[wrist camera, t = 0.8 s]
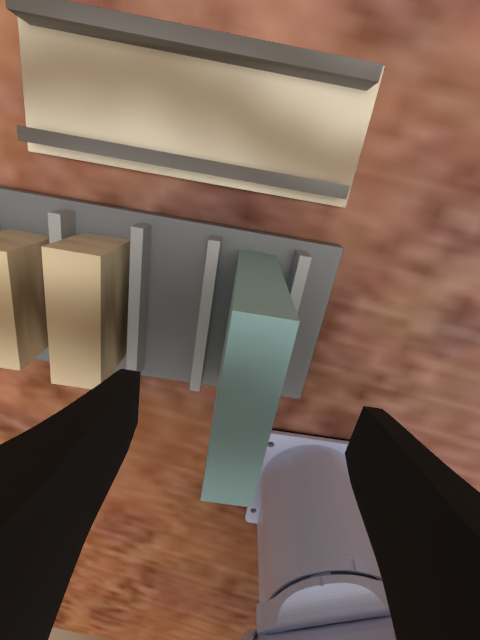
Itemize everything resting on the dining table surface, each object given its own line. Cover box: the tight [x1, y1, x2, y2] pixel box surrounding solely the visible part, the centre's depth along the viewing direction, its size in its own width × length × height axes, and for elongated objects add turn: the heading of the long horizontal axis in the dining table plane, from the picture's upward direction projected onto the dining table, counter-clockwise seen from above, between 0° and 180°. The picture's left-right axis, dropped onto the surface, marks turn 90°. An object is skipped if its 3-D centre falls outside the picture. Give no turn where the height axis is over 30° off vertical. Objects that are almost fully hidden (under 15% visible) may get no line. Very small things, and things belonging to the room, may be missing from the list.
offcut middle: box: [41, 232, 130, 389], centre depth 17 cm, size 7×2×4 cm, turn 171°
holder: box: [6, 0, 385, 208], centre depth 15 cm, size 6×16×2 cm, turn 81°
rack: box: [0, 186, 344, 399], centre depth 19 cm, size 10×19×2 cm, turn 81°
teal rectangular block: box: [200, 249, 300, 508], centre depth 15 cm, size 8×2×9 cm, turn 171°
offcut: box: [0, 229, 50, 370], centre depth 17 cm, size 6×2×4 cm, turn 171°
